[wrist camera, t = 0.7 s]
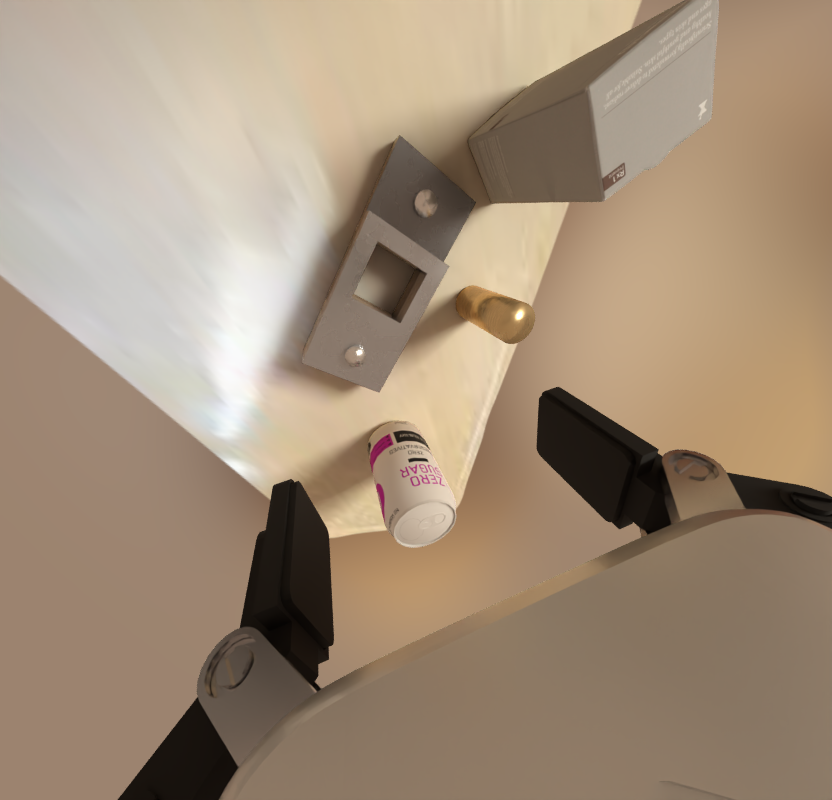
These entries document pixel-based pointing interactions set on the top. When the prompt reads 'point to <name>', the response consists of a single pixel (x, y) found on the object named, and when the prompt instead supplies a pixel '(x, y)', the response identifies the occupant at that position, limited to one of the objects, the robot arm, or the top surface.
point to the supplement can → (410, 485)
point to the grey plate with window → (406, 239)
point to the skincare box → (604, 113)
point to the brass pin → (496, 313)
